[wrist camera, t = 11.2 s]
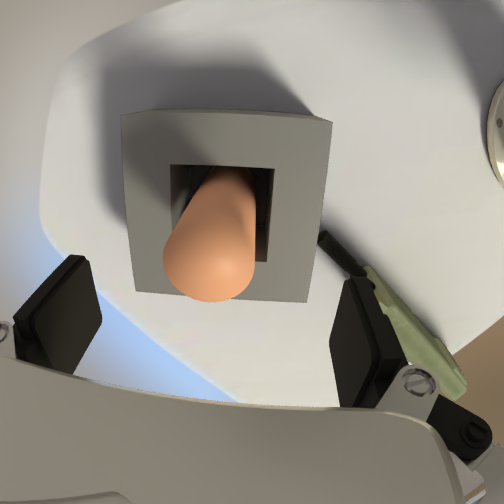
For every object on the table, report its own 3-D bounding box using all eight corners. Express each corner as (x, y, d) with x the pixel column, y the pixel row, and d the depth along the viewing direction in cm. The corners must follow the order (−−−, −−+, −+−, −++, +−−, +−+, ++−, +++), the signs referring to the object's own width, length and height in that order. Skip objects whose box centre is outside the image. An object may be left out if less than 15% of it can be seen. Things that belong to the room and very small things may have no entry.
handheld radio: (429, 367, 34) (301, 243, 27) (449, 350, 33) (329, 216, 26) (449, 405, 28) (316, 285, 21) (472, 387, 27) (353, 251, 20)
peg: (257, 163, 24) (257, 223, 13) (254, 212, 25) (252, 304, 15) (204, 160, 24) (159, 218, 13) (203, 210, 25) (166, 298, 15)
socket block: (314, 115, 22) (332, 122, 16) (297, 260, 27) (306, 302, 22) (152, 109, 22) (121, 115, 16) (157, 252, 27) (135, 291, 22)
